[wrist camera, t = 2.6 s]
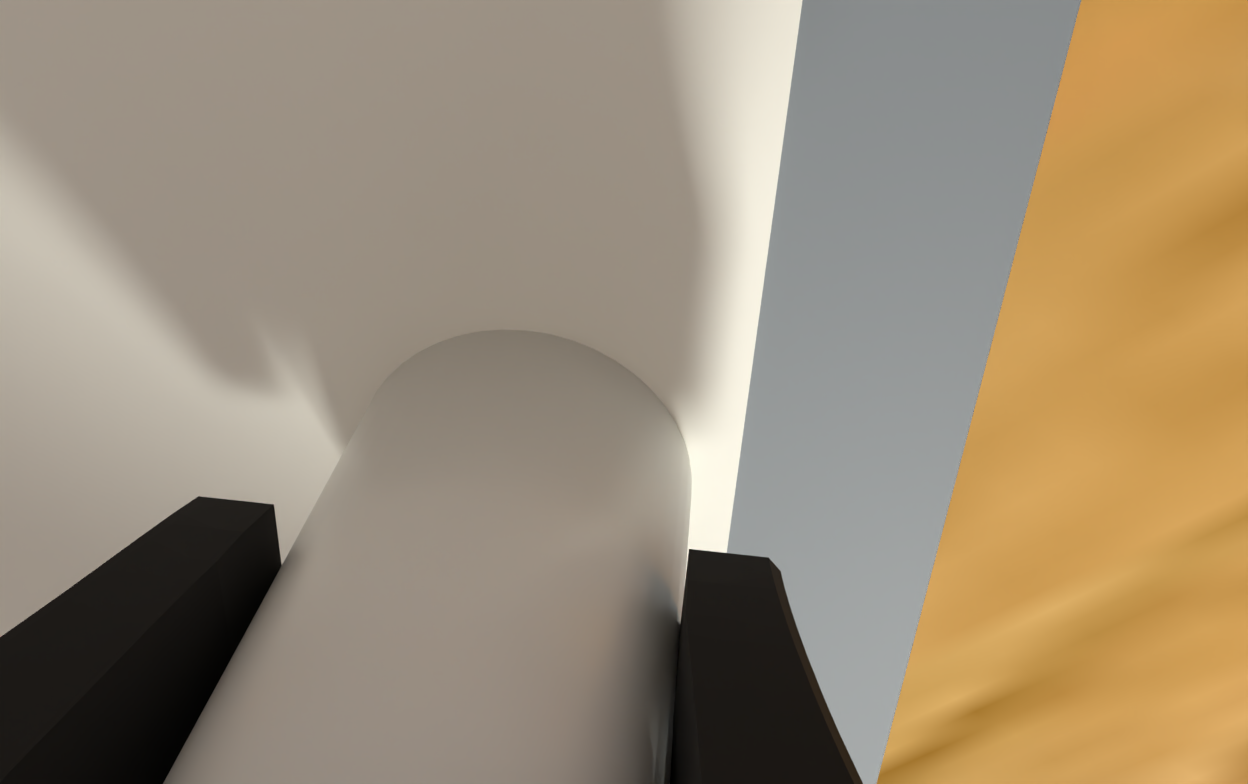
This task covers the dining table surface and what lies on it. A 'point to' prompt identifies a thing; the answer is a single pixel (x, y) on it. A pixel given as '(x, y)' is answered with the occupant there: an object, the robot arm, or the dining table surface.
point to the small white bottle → (473, 587)
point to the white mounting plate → (518, 259)
